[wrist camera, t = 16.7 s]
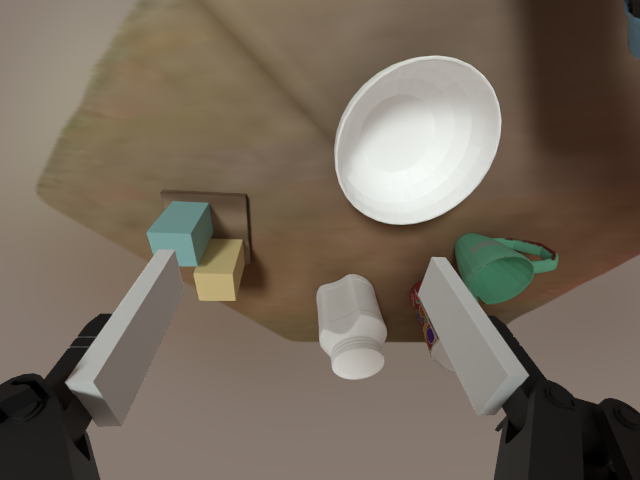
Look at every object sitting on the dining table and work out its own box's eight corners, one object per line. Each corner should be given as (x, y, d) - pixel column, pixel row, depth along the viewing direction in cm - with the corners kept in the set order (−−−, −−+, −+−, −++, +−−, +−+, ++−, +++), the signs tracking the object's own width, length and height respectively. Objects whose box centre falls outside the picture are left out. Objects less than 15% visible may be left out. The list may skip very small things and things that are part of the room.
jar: (329, 319, 60) (337, 389, 48) (308, 290, 55) (311, 360, 42) (380, 299, 58) (402, 368, 45) (363, 268, 53) (383, 335, 40)
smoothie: (396, 299, 58) (436, 399, 41) (418, 269, 54) (471, 367, 37) (431, 307, 60) (482, 405, 43) (454, 278, 56) (520, 376, 39)
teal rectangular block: (172, 201, 42) (146, 232, 35) (208, 202, 42) (190, 233, 35) (179, 231, 45) (156, 265, 37) (213, 232, 45) (197, 266, 38)
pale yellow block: (209, 238, 46) (193, 273, 39) (242, 239, 46) (232, 274, 39) (213, 263, 49) (199, 300, 41) (244, 264, 49) (235, 300, 42)
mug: (441, 270, 54) (467, 310, 46) (439, 229, 49) (468, 265, 40) (520, 251, 53) (561, 289, 45) (527, 206, 47) (576, 239, 39)
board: (163, 189, 42) (160, 192, 41) (246, 193, 43) (245, 196, 42) (180, 259, 49) (178, 263, 48) (250, 261, 50) (250, 264, 49)
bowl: (443, 196, 45) (471, 223, 38) (326, 197, 44) (331, 226, 37) (483, 55, 35) (531, 57, 28) (330, 52, 34) (339, 53, 26)
